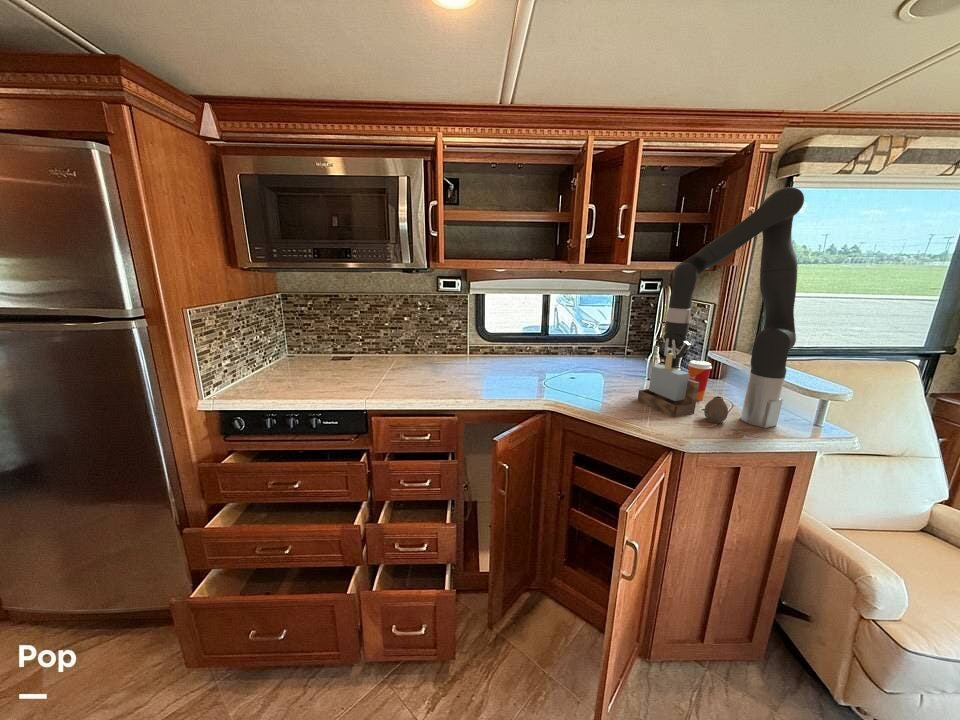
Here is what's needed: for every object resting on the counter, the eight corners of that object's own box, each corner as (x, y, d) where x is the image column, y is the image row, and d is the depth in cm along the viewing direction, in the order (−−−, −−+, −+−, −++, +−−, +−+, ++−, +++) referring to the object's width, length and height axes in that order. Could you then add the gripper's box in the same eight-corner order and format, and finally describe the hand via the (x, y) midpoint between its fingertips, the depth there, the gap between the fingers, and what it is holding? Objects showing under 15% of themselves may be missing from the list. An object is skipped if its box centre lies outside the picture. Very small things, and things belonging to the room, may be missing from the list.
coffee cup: (681, 393, 153) (687, 359, 149) (703, 396, 150) (710, 361, 146) (684, 400, 145) (690, 364, 141) (707, 403, 142) (714, 366, 138)
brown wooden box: (694, 413, 132) (699, 382, 129) (674, 417, 129) (679, 385, 126) (654, 396, 149) (658, 368, 145) (635, 400, 145) (639, 371, 142)
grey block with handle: (684, 399, 133) (691, 357, 129) (674, 401, 131) (681, 358, 127) (658, 388, 144) (664, 349, 140) (648, 390, 142) (654, 350, 138)
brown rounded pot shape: (720, 426, 122) (725, 402, 120) (699, 419, 127) (703, 396, 125) (729, 421, 126) (734, 398, 124) (708, 415, 131) (712, 392, 129)
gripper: (702, 322, 125) (694, 370, 130) (669, 317, 138) (662, 361, 142) (687, 324, 122) (679, 373, 127) (654, 318, 135) (648, 362, 140)
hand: (670, 366), depth 135 cm, fingers closed on grey block with handle, 2 cm apart
